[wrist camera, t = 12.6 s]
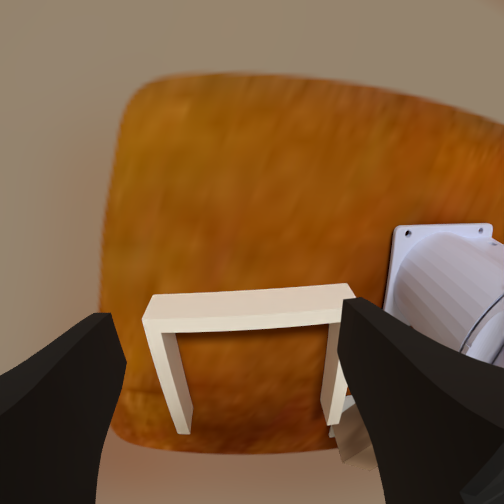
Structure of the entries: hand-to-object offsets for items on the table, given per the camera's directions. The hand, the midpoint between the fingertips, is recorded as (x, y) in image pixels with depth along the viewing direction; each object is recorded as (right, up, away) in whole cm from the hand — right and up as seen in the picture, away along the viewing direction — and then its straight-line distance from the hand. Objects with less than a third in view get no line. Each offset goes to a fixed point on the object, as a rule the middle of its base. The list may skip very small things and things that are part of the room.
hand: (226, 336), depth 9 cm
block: (+11, -13, +16) cm, 24 cm away
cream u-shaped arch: (+1, -5, +13) cm, 14 cm away
